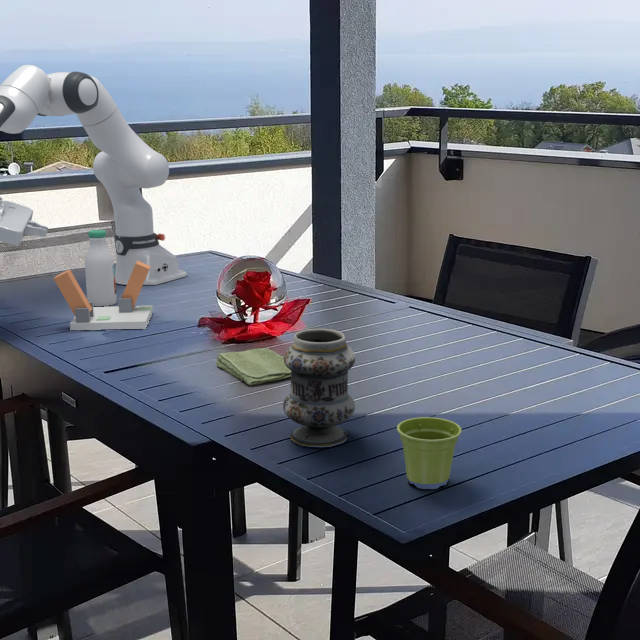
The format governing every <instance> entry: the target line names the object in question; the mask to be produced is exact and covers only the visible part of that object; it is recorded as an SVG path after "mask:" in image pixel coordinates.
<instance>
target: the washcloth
mask: <svg viewBox="0 0 640 640" xmlns="http://www.w3.org/2000/svg"><path fill="white" fill-rule="evenodd" d="M216 356H217V357H216V362H215V364H216V366H217V367H218V368H220V369H222V370H223V371H225V372H226V373H227V374H230V375H232V376H234V377H235V378H236V379H239V380H241V381H243V382H244V383H245V384H247V385H249V386H251V387H253V386H257V385H261V384H262V385H263V384H265V383H269V382H276V381H279V380H283V379H287V378H291V370H290V369H289V368H287V366H286V365H285V363H284V355H281V354H279V353H277V352H276V351H274V350H273V349H270V348H268V347H261V348H254V349H247V350H244V351H230V352H221V353H218V355H216Z"/></svg>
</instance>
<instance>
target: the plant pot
mask: <svg viewBox="0 0 640 640" xmlns="http://www.w3.org/2000/svg"><path fill="white" fill-rule="evenodd" d="M396 430H397V433H398V434H399V439H400V441H401V442H402V448H403V455H404V461H405V462H404V463H405V464H404V465H405V474H406V479H407V478H408V479H409V480H410V481H412V482H415V483H420V484H436V483H442V482H445V481H446V480H448V479H449V480H450V476H451V471H452V470H451V469H452V463H453V458H454V454H455V447H456V445H457V443H458V438H459V436H460V435H461V434H462V427H461V425H459V424H458V423H456V422H454V421H451V420H449V419H445V418H441V417H427V416H423V417H422V416H421V417H412V418H409V419H405V420H402V421H401V422H399V423H398V424H397V427H396Z"/></svg>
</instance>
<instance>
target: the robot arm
mask: <svg viewBox="0 0 640 640" xmlns="http://www.w3.org/2000/svg"><path fill="white" fill-rule="evenodd" d="M69 115H76V117H77V118H78V119H77V120H78V121H79V122H80V124H81V125H82V128H83V129H84V131H85V133H86V134H87V135H88V137H89V138H90V140H91V142H92V144H93V145H94V146H95V147H96V148H97V149H98V150H99V153H97V154H96V156H95V158H94V160H93V166H92V167H93V169H92V170H93V174H94V176H95V177H96V179H97V180H98V181H99V182H100V183H101V184H102V185H103V187H104V189H105V190H106V191H107V194H108V196H109V198H110V201H111V205H112V209H113V215H114V226H115V234H114V248H115V254H116V258H115V260H116V261H115V262H116V263H115V281H116V284H119V285H126V286H127V283H128V281H129V278H130V276H131V273H132V271H133V269H134V266H135V264H136V262H137V261H140V262H142V263H144V264H147V265H149V266H151V267H150V269H149V272H148V274H147V276H146V279H145V281H144V284H143V285H144V286H145V285H147V286H156V285H160V284H163V283H167V282H171V281H174V280H178V279H181V278H185V277H187V276H188V273H187V272H186V271H185V270H182V269H180V266H179V261H178V258H177V257H176V255H175V254H173V253H172V252H171V251H169V250H167V248H165V247H163V246H162V245H161V244H160V242H159V241H162V242H163V241H165V240H166V235H165V234H164V233H158V234H157V233H156V232H154V217H153V215H154V213H153V209H152V205H151V204H150V203H149V202H148V201H147V200H145V198H144V196H143V195H142V193H141V191H140V189H151V188H158V187H160V186H163V185H164V184H165V183H166V181H167V180H168V177H169V175H170V166H169V162H168V160H167V159H166V157H165V156H164V155H163V154H161V153H160V152H158V151H156V150H154V149H153V148H152V147H150V146H149V145H148V144H147V143H146V142H145V141H144V140H142V138H141V137H140V136H138V134H137V133H136V132H135V131H134V130H133V129H132V127H130V125H129V124H128V122H127V120H126V119H125V117H124V116H123V114H122V112H121V111H120V109H119V107H118V105H117V104H116V102H115V100H114V98H112V96H111V94H110V93H109V91H108V90H107V89H106V88H105V86H104V84H102V83H101V81H100V80H99V79H98V78H96V76H92V75H89V74H87V73H85V72H80V71H71V72H69V71H68V72H67V71H58V72H52V73H46V71H44V70H43V69H41V68H40V67H38V66H36V65H34V64H23V65H21V66H19V67H18V68H17V69H15V70H13V72H12V73H11V74H9V75H8V76H7V77H6V78H5V79H4V81H3V82H2V83H1V84H0V131H1V132H4V133H6V134H14V135H15V134H21V133H22V132H23V131H25V130H26V129H27V128H28V127H29V126H30V125H31V124H32V123H33V122H34V120H35V119H36V118H37V116H40V117H48V116H49V117H63V116H69ZM33 214H34V210H33V209H32V208H30V207H28V206H25V205H23V204H19V203H16V202H12V201H9V200H3V197H1V196H0V242H1V243H5V244H8V245H13V246H20V245H21V243H22V241H23V239H24V237H25V236H34V237H35V236H37V237H43V238H45V237H47V233H48V229H49V227H48V226H47V225H42V224H41V223H38V222H36V221H35V220H32V219H33Z"/></svg>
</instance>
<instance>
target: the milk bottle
mask: <svg viewBox="0 0 640 640" xmlns="http://www.w3.org/2000/svg"><path fill="white" fill-rule="evenodd" d="M87 235H88V240H89V247H88V250H87V252H86V256H85V259H84V271H85V272H84V273H85V286H86V298H87V300H88V302H93V307H94V306H104V307H110V306H109V305H111V306H115V305H116V304H117V302H118V299H117V285H116V284H117V283H116V281H115V270H116V267H115V262H114V257H113V255H112V252H111V250H110V248H109V246H108V244H107V231H106V230H105V229H92V230H89V231H88V234H87Z"/></svg>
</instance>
